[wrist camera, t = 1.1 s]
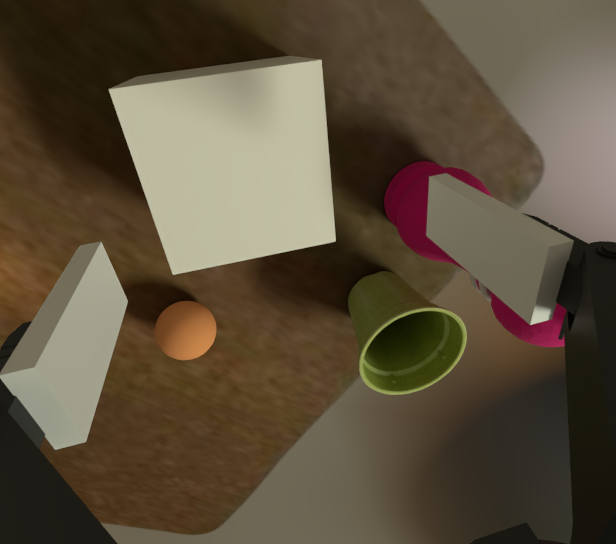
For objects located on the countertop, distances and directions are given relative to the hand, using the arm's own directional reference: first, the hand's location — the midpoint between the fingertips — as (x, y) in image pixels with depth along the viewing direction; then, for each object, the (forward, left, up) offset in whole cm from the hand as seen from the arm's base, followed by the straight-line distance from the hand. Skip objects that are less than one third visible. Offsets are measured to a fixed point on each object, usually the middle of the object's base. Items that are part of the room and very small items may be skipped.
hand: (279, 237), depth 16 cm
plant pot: (+10, -16, -16) cm, 25 cm away
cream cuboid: (-1, +1, -16) cm, 16 cm away
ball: (-8, -13, -13) cm, 21 cm away
